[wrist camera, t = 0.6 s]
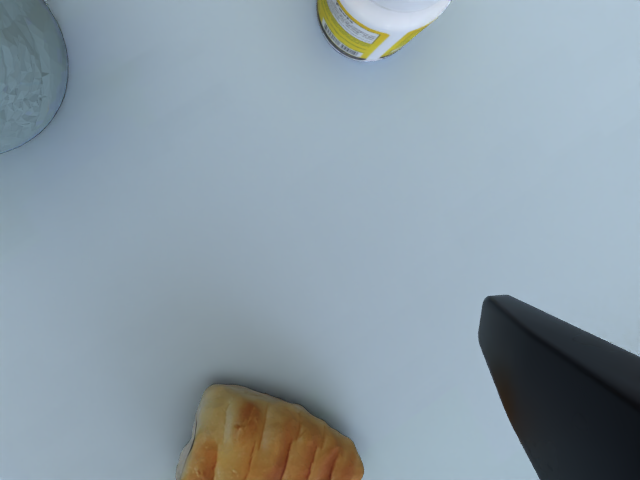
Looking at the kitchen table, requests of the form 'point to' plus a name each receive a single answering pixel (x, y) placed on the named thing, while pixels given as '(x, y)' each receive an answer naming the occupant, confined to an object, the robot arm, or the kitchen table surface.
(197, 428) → the pastry
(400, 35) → the supplement bottle
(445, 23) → the kitchen table surface
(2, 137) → the grey green cup
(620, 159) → the kitchen table surface
